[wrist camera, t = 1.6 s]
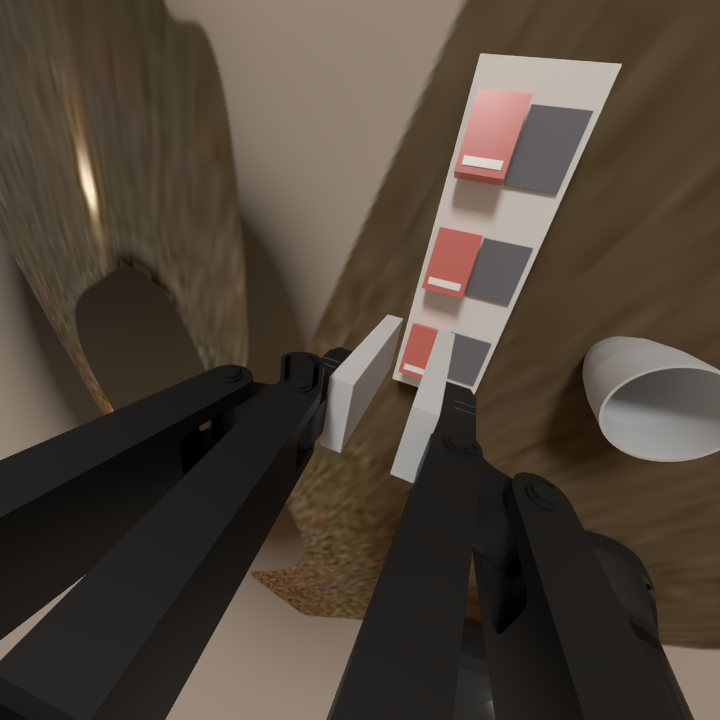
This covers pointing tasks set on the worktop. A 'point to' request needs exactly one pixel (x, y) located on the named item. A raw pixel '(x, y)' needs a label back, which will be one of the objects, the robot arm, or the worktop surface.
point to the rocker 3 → (491, 135)
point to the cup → (653, 399)
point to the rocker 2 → (451, 261)
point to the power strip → (509, 202)
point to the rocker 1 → (418, 350)
